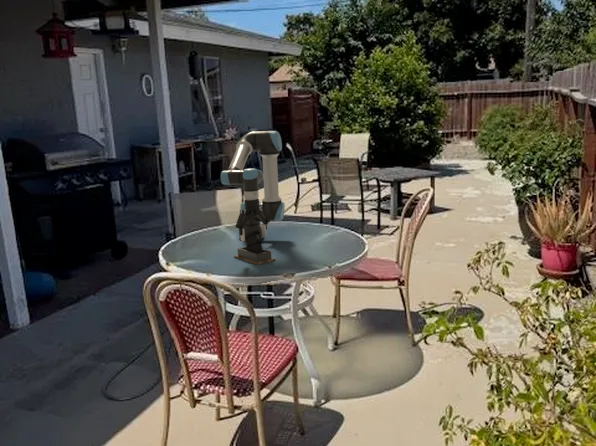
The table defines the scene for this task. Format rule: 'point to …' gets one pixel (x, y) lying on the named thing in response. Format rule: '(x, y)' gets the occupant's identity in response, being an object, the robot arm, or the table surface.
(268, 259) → the board
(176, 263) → the table surface
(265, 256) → the cradle
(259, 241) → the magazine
